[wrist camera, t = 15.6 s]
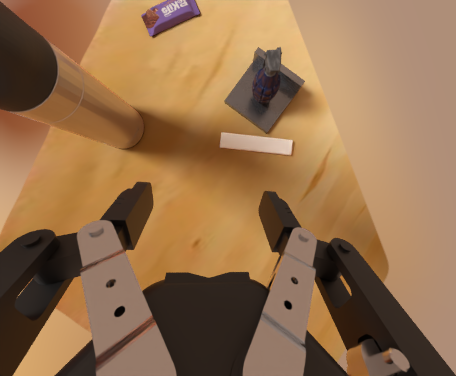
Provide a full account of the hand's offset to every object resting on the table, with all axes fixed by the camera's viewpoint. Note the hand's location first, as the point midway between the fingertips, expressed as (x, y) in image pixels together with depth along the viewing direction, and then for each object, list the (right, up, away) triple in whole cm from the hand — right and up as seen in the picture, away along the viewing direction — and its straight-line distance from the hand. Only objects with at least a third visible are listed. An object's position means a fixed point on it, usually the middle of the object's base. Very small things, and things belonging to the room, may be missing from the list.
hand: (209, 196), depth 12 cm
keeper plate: (+8, +20, +22) cm, 31 cm away
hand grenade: (+8, +20, +22) cm, 31 cm away
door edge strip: (+7, +10, +23) cm, 26 cm away
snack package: (-11, +37, +24) cm, 45 cm away
